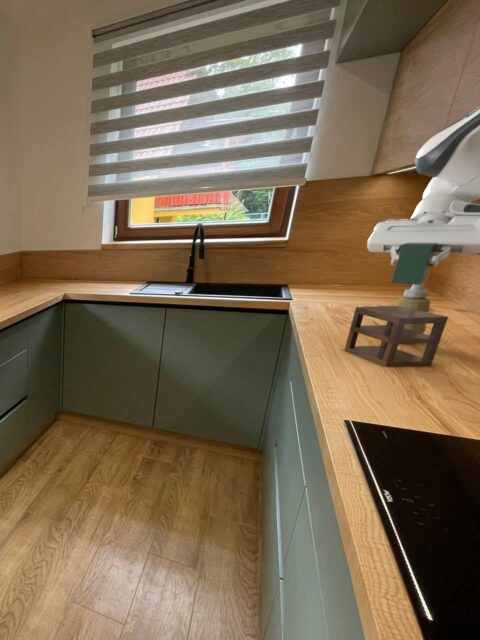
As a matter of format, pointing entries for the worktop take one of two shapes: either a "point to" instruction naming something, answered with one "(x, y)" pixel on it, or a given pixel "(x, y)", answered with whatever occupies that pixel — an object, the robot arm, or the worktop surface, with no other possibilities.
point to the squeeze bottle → (415, 304)
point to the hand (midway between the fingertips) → (413, 264)
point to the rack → (395, 335)
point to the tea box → (413, 263)
